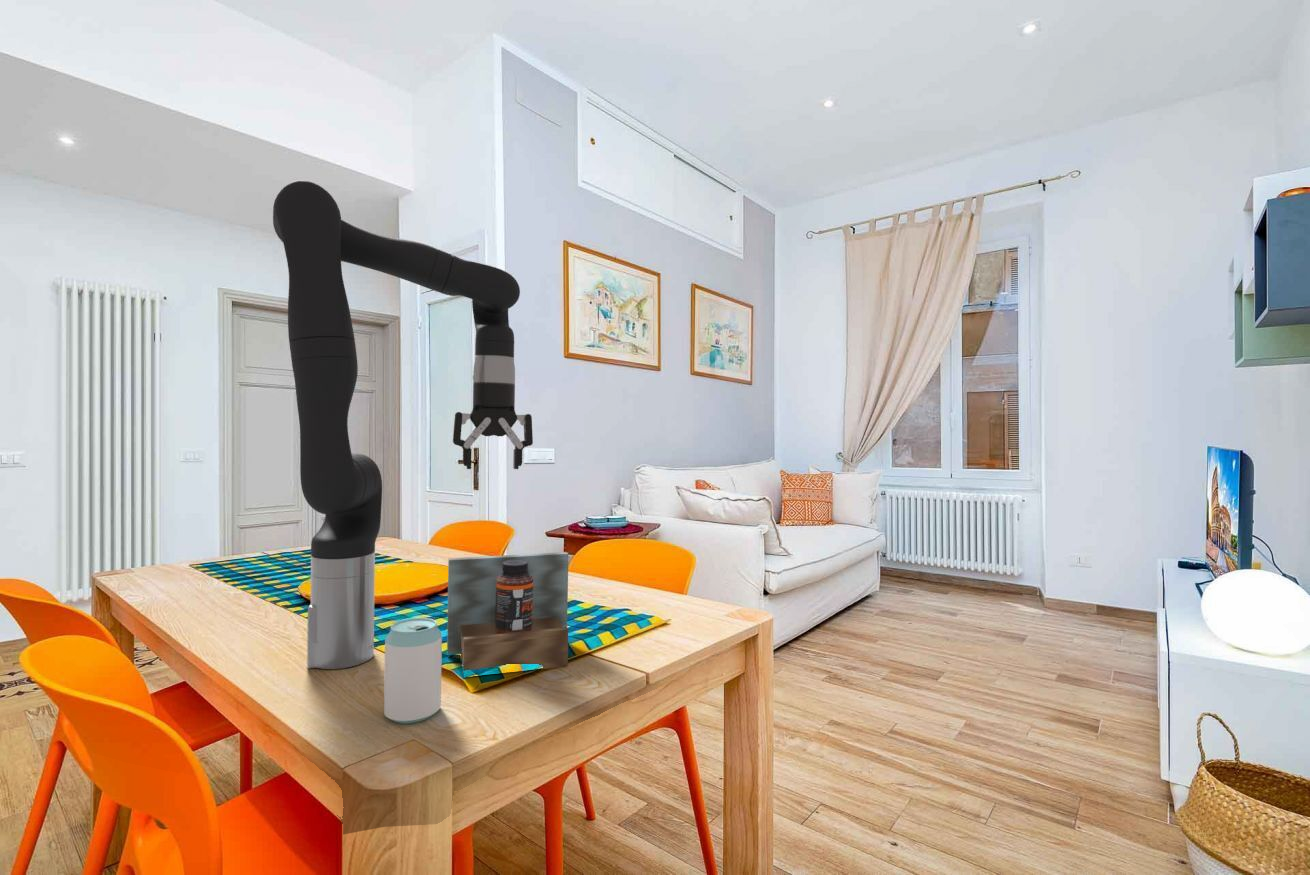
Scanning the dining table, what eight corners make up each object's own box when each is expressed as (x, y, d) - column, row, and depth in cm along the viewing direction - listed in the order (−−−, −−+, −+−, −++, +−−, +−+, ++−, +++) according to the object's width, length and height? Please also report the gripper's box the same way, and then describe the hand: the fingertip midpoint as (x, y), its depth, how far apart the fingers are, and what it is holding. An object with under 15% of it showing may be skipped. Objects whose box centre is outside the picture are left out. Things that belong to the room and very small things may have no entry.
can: (445, 700, 87) (447, 615, 86) (434, 725, 80) (435, 632, 79) (393, 702, 86) (394, 616, 85) (376, 727, 79) (377, 633, 78)
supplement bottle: (527, 638, 98) (529, 566, 97) (490, 637, 98) (491, 565, 98) (536, 625, 104) (537, 558, 103) (500, 624, 104) (501, 557, 104)
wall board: (449, 680, 93) (451, 574, 93) (447, 653, 104) (448, 558, 103) (579, 664, 100) (581, 566, 100) (564, 641, 111) (566, 552, 110)
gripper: (454, 378, 109) (453, 470, 110) (536, 382, 114) (534, 470, 114) (453, 381, 116) (451, 467, 117) (529, 384, 121) (528, 467, 122)
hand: (492, 468), depth 116 cm, fingers open, 8 cm apart
